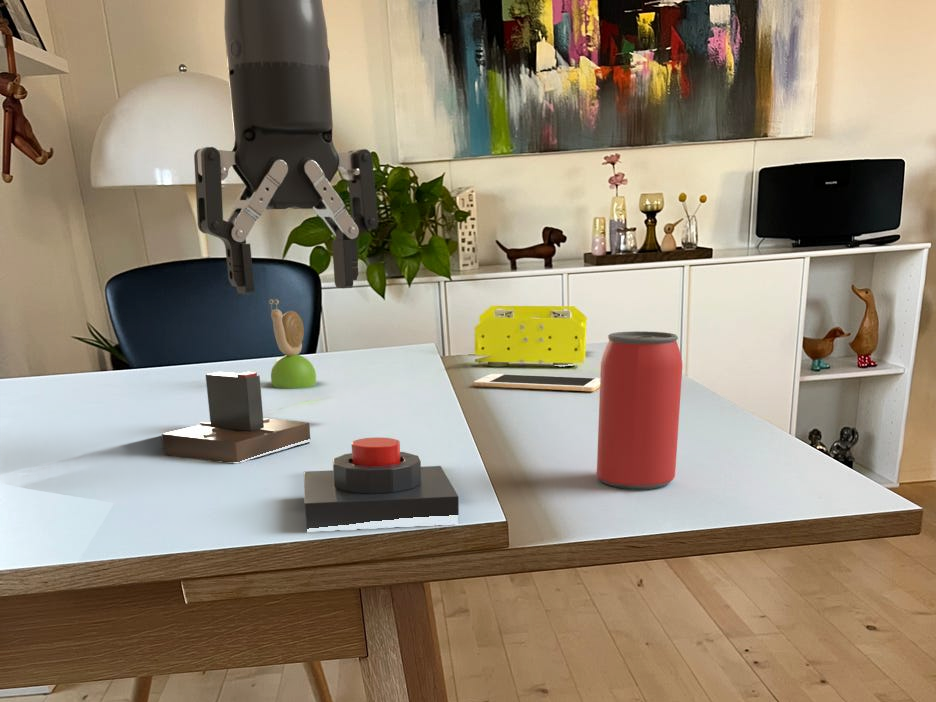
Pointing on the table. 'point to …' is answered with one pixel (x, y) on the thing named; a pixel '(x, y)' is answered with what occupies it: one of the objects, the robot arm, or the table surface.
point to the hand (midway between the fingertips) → (295, 290)
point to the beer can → (639, 410)
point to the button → (376, 451)
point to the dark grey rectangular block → (235, 400)
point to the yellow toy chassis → (531, 335)
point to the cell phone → (539, 382)
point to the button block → (376, 492)
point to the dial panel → (233, 440)
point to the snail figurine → (290, 352)
